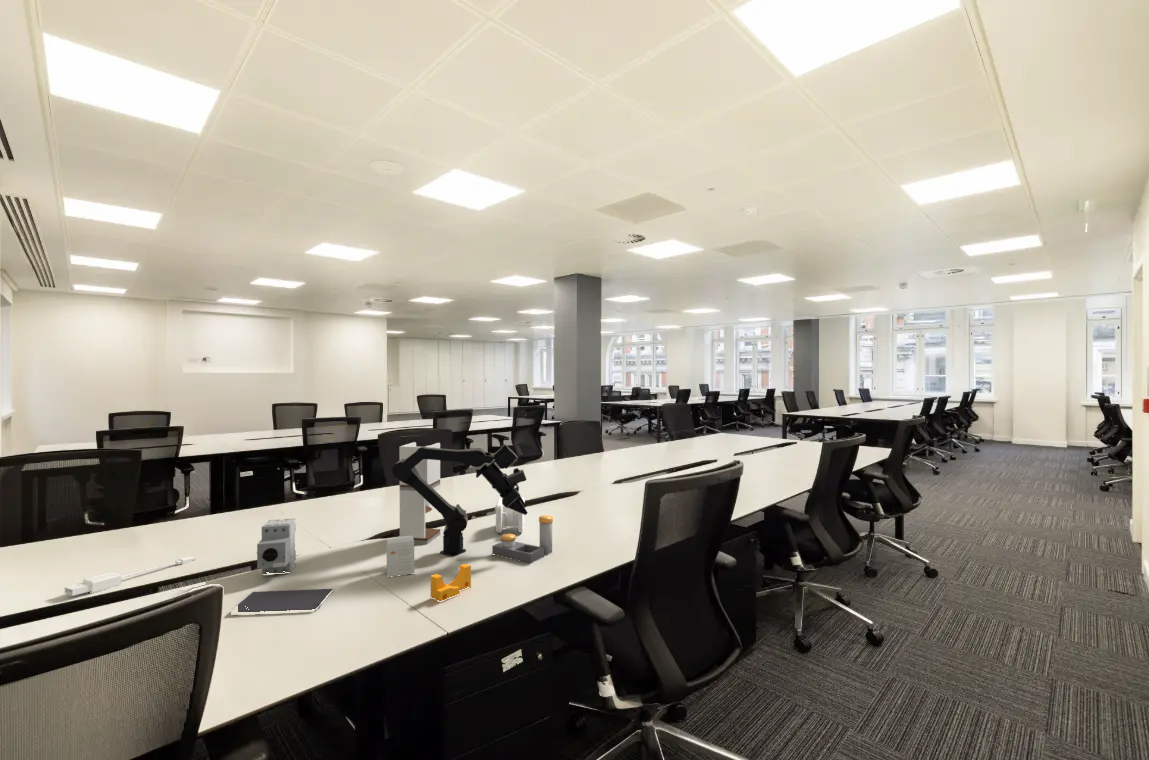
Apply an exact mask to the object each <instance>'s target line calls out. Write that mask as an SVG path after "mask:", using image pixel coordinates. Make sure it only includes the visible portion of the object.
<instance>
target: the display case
mask: <svg viewBox="0 0 1149 760" xmlns="http://www.w3.org/2000/svg"><path fill="white" fill-rule="evenodd" d="M420 447H422V446H417V442H416V441H413V442H410V443H406V444H404V445H403V444H402V445H401V446H399V448H398V449H399V461H400V460H402V459H407V458H408V457H409V456H411V455H412V454H413V453H415V452H416V451H417V450H418V449H419V448H420ZM425 447H430V448H441V443H440V442H436V443H433V444H431V445H425ZM415 468H416V470H417V471H418V473H419V475H420V477H421V478H422V479H423V480H424V481H426V482H427V483H428V484H429V485H430V486H431V487H432V488H433V489H434V490H435V491H436V492H437V490H440V489H441V460H430V459H423V460H422V461H421V462H419V463H418V464H417V465H416V466H415ZM432 510H433V506H432V505H431V504H430V503H429V502H428V501H427V500H426V499H424V498H423V497H422V496H421V495H420V494H419V493H418V492H417V491H416V490H415V489H414V488H413V487H411V486H410V485H407V484H405V483H403V482H401V481H400V480H399V537H404V536H413V539H414V545H415V544H416V545H417V544H419V545H428V544H430V543H431V542H432V541H434V540H435V539H437V538H438V537H439V536H440V535H441V529H440V528H427V527H426V514H428V513H430V512H431V511H432Z"/></svg>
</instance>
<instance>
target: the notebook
mask: <svg viewBox="0 0 1149 760" xmlns="http://www.w3.org/2000/svg"><path fill="white" fill-rule="evenodd" d="M332 590H334V589H333V588H316V589H315V588H314V589H312V588H311V589H292V590H291V589H290V590H289V589H288V590H287V589H286V590H269V591H268V590H265V591H252V592H251V593H250V594H248V595H247V597H245V598H244V599H243V600H242V601H240V602H239V603H238V604H237V605H238V612H260V611H264V612H265V611H287V610H289V611H290V610H312V609H316V608H317V607H318V606H319V605H320V604H321V602H322V601H323V600H324V599H325V598H326V596H327V595H328V594H329V593H330V592H331V591H332ZM245 606H246V607H245ZM247 607H248V608H247ZM246 608H247V609H246ZM248 609H249V610H248Z"/></svg>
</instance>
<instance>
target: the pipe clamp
mask: <svg viewBox="0 0 1149 760" xmlns="http://www.w3.org/2000/svg"><path fill="white" fill-rule="evenodd" d="M470 586H471V587H472V566H471V565H470V564H467V563H464V564H460V565H459V569H458V573H457V575H456V577H455V578H454V579H453V580H452V581H451V582H449V583H447V584H445V582H444V580H443V575H441V574H438V573H435V574H432V575H430V598H431V597H432V598H435V599H436V600H439V601H442V600H445V599H447V598H449V597H452V596H455V595H457V594H459V595H460V592H459V590H462V589H465V588H467V587H470ZM471 587H470V588H471ZM465 590H466V589H465Z"/></svg>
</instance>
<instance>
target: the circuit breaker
mask: <svg viewBox="0 0 1149 760" xmlns="http://www.w3.org/2000/svg"><path fill="white" fill-rule="evenodd" d="M295 520H296V518H295V517H294V518H284V519H281V518H279V519H268V521H266V522H265V523H264V524H263V525H262V526H261V539H260V540H259V542H258V543H257V544H256V555H257V557H256V559H257V560H256V561H257V562H256V563H257V564H256V565H257V567H256V569H257V570H261V575H262V574H267V573H266V572H269V573H285V572H290V571H291V569H292V568H293V566H294V565H295V562H296V560H297V555H296V536H295V535H296V531H297V530H296V526H297V525H296V522H295ZM295 566H296V565H295ZM295 566H294V567H295ZM293 569H294V568H293ZM293 569H292V570H293ZM283 571H285V572H283ZM291 572H292V571H291ZM291 572H290V573H291Z"/></svg>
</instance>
